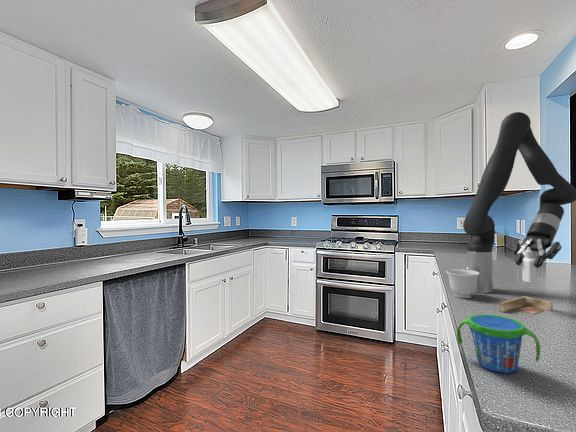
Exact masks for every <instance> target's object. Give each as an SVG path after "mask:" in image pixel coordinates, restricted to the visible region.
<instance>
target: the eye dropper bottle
mask: <svg viewBox="0 0 576 432" xmlns="http://www.w3.org/2000/svg"><path fill="white" fill-rule="evenodd" d="M535 261H536V258H534V251H531V249H530V247H527V250H526V251H525V256H524V257H523V259H522V263H521V269H522V270H521V272H522V273H521V275H522V277H521V278H522V281H523V282H525V283H529V284H538V268H536V267H535V265H534V263H535Z"/></svg>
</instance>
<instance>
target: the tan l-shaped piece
mask: <svg viewBox="0 0 576 432" xmlns="http://www.w3.org/2000/svg"><path fill="white" fill-rule="evenodd" d="M498 303H499V308H498V309H499V312H501V313H506V312H510V311H512V309H513V310H516V311H519V312H522V313H523V312H524V313H527V314H532V315H535V314H538V313H540V312H544V311H547V312H548V311H549V312H553V305H554V304H553V301H549V300H544V299H539V298H535V297H529V296H526V295H525V296H524V295H522V296H520V297H519V296H518V297H515V298H511V299H508V300H504V301H501V302H498ZM509 310H510V311H509Z"/></svg>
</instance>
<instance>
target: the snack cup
mask: <svg viewBox="0 0 576 432" xmlns="http://www.w3.org/2000/svg"><path fill="white" fill-rule="evenodd" d="M464 324H467V325H468V327H469V329H470V333H471V336H472V340H473V345H474V352H475V355H476V359H477V361H478V363H479V364H480V365H481V366H482V367H483V368H485V369H487V370H489V371H492V372H497V373H503V374H505V375H506V374H510V373H513V372H515V371H518V367H519V360H520V355H521V350H522V349H521V348H522V340H523V339H522V338H523V336H525V335H527V336H529V337H532V338H533V340H534V343H535V345H536V346H535V347H536V348H535V349H536V356H535V361H536V362H539V359H540V355H541V345H540V341H539V339H538V337H537V336H536V334H535V333H534V332H533V331H531V329H529V328H527V327H525V325H524V324H523V323H522V322H520V321H518V320H516V319H513V318H509V317H506V316H500V315H494V314H475V315H472V316H470V317H469V318H466V319H464V320H462V321H461V322H460V323H459V325H458V327H457V331H456V340H457V343H458V344H459V345H461V344H462V342H463V339H462V334H461V328H462V326H464Z"/></svg>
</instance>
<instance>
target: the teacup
mask: <svg viewBox="0 0 576 432" xmlns="http://www.w3.org/2000/svg"><path fill="white" fill-rule="evenodd" d="M446 274H447V276H448V280H449V281H448V282H449V286H450V289H451V291H452V292H453V293H455V297H456V298H461V299H470V298H472V294H474V293H476V292H475V291H476V287H477V279H478V276H479V275H480V273H479V272H476V271H472V270H466V269H464V268H463V269H461V268H459V269H458V268H453V269H448V270H446Z"/></svg>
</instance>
